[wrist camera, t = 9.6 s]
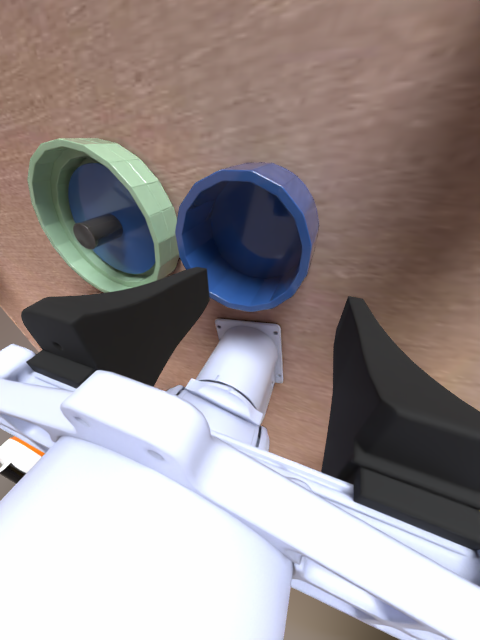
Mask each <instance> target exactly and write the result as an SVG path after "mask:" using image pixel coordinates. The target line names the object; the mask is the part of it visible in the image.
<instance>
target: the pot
mask: <svg viewBox="0 0 480 640" xmlns="http://www.w3.org/2000/svg"><path fill="white" fill-rule="evenodd" d="M318 230H319V221H318V213H317V208H316V205H315V202H314V199H313V197H312V195H311V193H310V192H309V190H308V188H307V187H306V186H305V184H304V183H303V182H302V181H301V180H300V179H299V178H298V177H297V176H296V175H295V174H293V173H292V172H290V171H289V170H287V169H285V168H283V167H281V166H279V165H276V164H274V163H263V162H259V163H244V164H240V165H237V166H233V167H229V168H225V169H221V170H218V171H217V172H215V173H213V174H211V175H209V176H207V177H205V178H204V179H202V180H200V181H198V182H196V183H195V184H194V185H193V187H192V188H191V190H190V191H189V193H188V194H187V196H186V197H185V199H184V200H183V201H182V203H181V204H180V207H179V212H178V217H177V223H176V229H175V235H176V240H177V246H178V251H179V257H180V259H181V261H182V263H183V265H184V267H185V269H186V270H187V269H190V268H194V267H201V268H206V269H207V274H208V286H209V297H210V298H212V299H213V300H215V301H217V302H219V303H221V304H222V305H224V306H226V307H229V308H232V309H237V310H242V311H247V312H254V311H260V310H267V309H272V308H274V307H276V306H278V305H279V304H281V303H283V302H284V301H286V300H287V299H289V298H291V297H292V296H293V295H294V294H295V292H296V291H297V289H298V288H299V286H300V285H301V284H302V282H303V281H304V279H305V278H306V276H307V274H308V271H309V267H310V264H311V261H312V257H313V254H314V251H315V247H316V241H317V237H318Z"/></svg>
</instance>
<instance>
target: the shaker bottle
mask: <svg viewBox="0 0 480 640" xmlns="http://www.w3.org/2000/svg"><path fill="white" fill-rule="evenodd" d="M44 454H45V453H43V452H41V451H40V450H38V449H36V448H35V447H33V446H31V445H29V444H28V443H26V442H24V441H22V440H21V439H19V438H17V437H15V436H13V437H12V438H9V439H8V440H7V441H6V442H5V443H4V444H3V445H2V446H0V462H1V464H2V465H3V466H2V467H1V468H0V474H1V475H2V476H4V477H6V478H8V479H9V480H11V481H12V482H14V483H16V484H17V483H18V482H19V481H20V480H21V479H22V478H23V477H24V475H25V474H26V473H27V472H28V471H29V470H30V469H31V468H32V467H33V466H34V465H35V464H36V463H37V462H38V461H39V460H40V459H41V457H42V456H43V455H44Z"/></svg>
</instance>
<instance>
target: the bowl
mask: <svg viewBox="0 0 480 640" xmlns="http://www.w3.org/2000/svg"><path fill="white" fill-rule="evenodd" d="M94 162H98V163H101V164H102V165H104V166H105V167H107V168H108V169H109V170H110V171H111V172H112V173H113V174H114V175H115V176H116V178H117V179H118V180H119V181H120V182H121V183H122V184H123V185H124V186H125V187H126V188H127V190H128V191H129V192H130V194H131V195H132V197H133V199H134V200H135V202H136V204H137V205H138V207H139V209H140V210H141V212H142V213H143V215H144V217H145V219H146V222H147V225H148V228H149V231H150V233H151V236H152V239H153V242H154V250H155V261H156V264H155V265H154V266H153V267H152V268H151V269H150V270H148V271H146V272H144V273H140V274H129V273H125V272H122V271H119V270H117V269H115V268H114V267H112V266H110V265H109V264H107V263H106V262H105V261H103V260H102V259H101V258H100V257H99V256H98V255H97V254H96V253H95V252H94V251H93V250H92V249H87V248H85V247H83V246H82V245H81V244H80V243H79V242H78V240H77V239H76V237H75V235H74V232H73V226H74V225H75V224H76V223H75V221H74V219H73V216H72V213H71V210H70V205H69V199H68V186H69V181H70V178H71V176H72V174H73V172H74V171H75V170H76V169H77V168H78V167H80V166H81V165H83V164H86V163H94ZM28 186H29V191H30V197H31V202H32V205H33V208H34V210H35V213H36V215H37V218H38V220H39V223H40V225H41V227H42V229H43V230H44V232H45V234H46V235H47V237H48V239H49V240H50V242H51V244H52V245H53V247H54V248H55V250H56V251H57V252H58V253H59V255H60V256H61V257H62V258H63V259H64V261H65V262H66V263H67V264H68V265H69V267H71V268H72V269H73V270H74V271H75V272H76V273H77V274H78V275H79V276H80V277H82V278H83V279H84V280H85V281H86V282H88V283H89V284H91V285H92V286H94V287H96V288H97V289H99V290H100V291H102V292H104V293H107V292H113V291H119V290H124V289H129V288H133V287H137V286H141V285H144V284H148V283H151V282H154V281H157V280H160V279H163V278H165V277H168V276H169V275H170V274H171V273H172V272H173V271H174V270H175V268H176V265H177V262H178V259H179V251H178V246H177V240H176V235H175V229H176V223H177V218H176V214H175V211H174V207H173V205H172V204H171V202H170V200H169V198H168V196H167V194H166V192H165V191H164V189H163V187H162V185H161V183H160V182H159V180H158V179H157V178H156V177H155V175H154V174H153V173H152V172H151V171H150V170H149V169H148V167H147V166H146V165H145V164H144V163H143V162H142V161H141V160H140V158H138V157H137V156H135V155H134V154H132V153H131V152H129V151H128V150H126V149H125V148H123V147H122V146H120V145H119V144H117V143H114V142H110V141H106V140H102V139H98V138H60V139H56V140H52V141H49V142H45V143H42V144H40V146H39V147H38V149H37V150H36V151H35V153H34V154H33V155H32V157H31V158H30V164H29V171H28Z"/></svg>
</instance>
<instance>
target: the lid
mask: <svg viewBox="0 0 480 640" xmlns="http://www.w3.org/2000/svg"><path fill="white" fill-rule="evenodd" d="M68 199H69V205H70V210H71V213H72V216H73V219H74V221H75V223H76V224H75V225H74V226H73V232H74V235H75V237H76V239H77V240H78V242H79V243H80V244H81V245H82V246H83V247H85V248H87V249H92V250H93V251H94V252H95V253H96V254H97V255H98V256H99V257H100V258H101V259H102V260H103V261H105V262H106V263H107V264H109V265H110V266H112V267H114V268H115V269H117V270H119V271H122V272H125V273H129V274H140V273H144V272H146V271H148V270H150V269H151V268H152V267H153V266H154V265H155V264H156V261H155V250H154V242H153V239H152V236H151V233H150V231H149V228H148V225H147V222H146V219H145V217H144V215H143V213H142V212H141V210H140V209H139V207H138V205H137V204H136V202H135V200H134V199H133V197H132V195H131V194H130V192H129V191H128V190H127V188H126V187H125V186H124V185H123V184H122V183H121V182H120V181H119V180H118V179H117V178H116V176H115V175H114V174H113V173H112V172H111V171H110V170H109V169H108V168H107V167H105V166H104V165H102V164H101V163H98V162H94V163H86V164H83V165H81V166H80V167H78V168H77V169H76V170H75V171H74V172H73V174H72V176H71V178H70V181H69V186H68Z"/></svg>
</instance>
